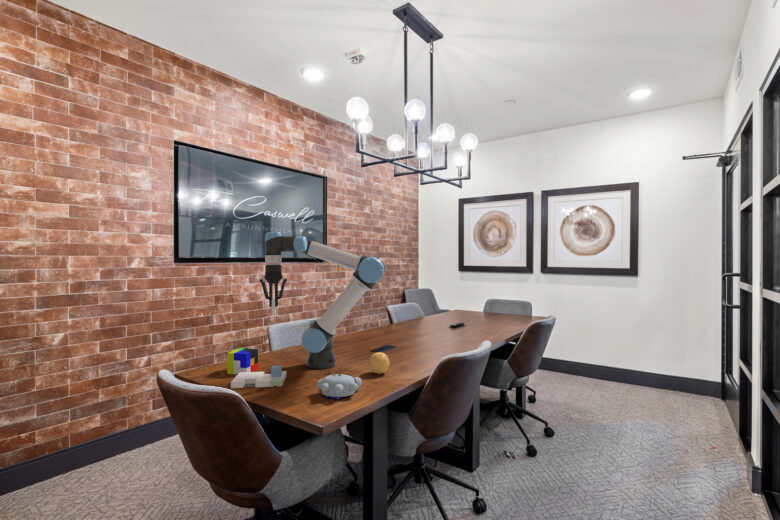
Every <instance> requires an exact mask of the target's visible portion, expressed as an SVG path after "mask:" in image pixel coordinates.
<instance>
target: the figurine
mask: <svg viewBox="0 0 780 520" xmlns="http://www.w3.org/2000/svg"><path fill="white" fill-rule="evenodd" d="M361 386H362V379H361V378H360V377H359V376H358V377H357V376H355V377H353V376H352V375H350V374H345V373H344V374H342V373H339V374H337V373H333V374H330V375H329V374H328V375H326V376H325V377H324V378H321V379H319V380H317V381H316V387H317V388H318V389H320V390H321V394H322V395H323V396H325V399H326V398H328V397H329V399H334V398H335V400H336V399H337V398H338V399H339V400H340V399H342V398H343V397H344V398H345V397H348V396H349V397H350V396H352V395H354V394H355V392H356V391H357V390H358V388H360V387H361Z"/></svg>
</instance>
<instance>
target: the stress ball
mask: <svg viewBox="0 0 780 520" xmlns="http://www.w3.org/2000/svg"><path fill="white" fill-rule="evenodd" d="M390 365H391V362H390V359H389V357H388V355H387V354H385V352H381V351H379V352H378V351H377V352H374V353H372V355H371V356H370V358H369V359H368V366H369V369H370V370H371V371H372V372H373V373H375V374H376V373H378V374H377V375H382V374H383V373H385V372H387V370H388V369H389V368H390ZM381 373H382V374H381Z"/></svg>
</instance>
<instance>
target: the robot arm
mask: <svg viewBox="0 0 780 520" xmlns="http://www.w3.org/2000/svg"><path fill="white" fill-rule="evenodd" d="M282 253H300V254H304V255H306V256H310V257H314V258H317V259H320V260H323V261H326V262H329V263H331V264H333V265H338V266H341V267H343V268H347V269H349V270H352V271H354V272H353V273H352V274H351V277H352V279H351V281H350V282H349V283H348V284H347V285H346V287H345V288H344V289H343V290H342V292H341V293H340V294H339V295H338V296H337V298H335V300H334V301H333V303H332V304H331V305H330V306H329V308H328V309H327V310H326V311H325V312H324V314H323V315H322V316H321V317H318V318H316V319H313V320H310V322H309V327H308V328H307V329H306V330H305V331H304V332H303V333H302V336H301V345H302V347H303V349H305V351H307V352H308V355H307V358H306V360H305V361H306V363H305V365H306V368H309V369H316V370H321V369H329V368H333V367H335V366H337V359H336V356H335V352H334V346H333V345H334V339H333V338H334V336H335V335H336V328H338V326H339V325H340V324H341V322H342V321H343V320H344V319H345V318H346V316H348V314H349V313H350V312H351V311H352V309H353V308H354V307H355V305H356V304H357V303H358V302H359V300H361V298H362V297H363V295H364V294H365V293H366V292H367V291H371V290H372V289H374V287H375V286H376V284H377V283H378V282H379V281H380V280H381V279H382V278H383V277H384V274H385V272H386V266H385V264H384V262H383V261H382V260H381V259H380V258H377V257H375V256H366V255H363V254H360V255H356V254H354V253H350V252H347V251H345V250H341V249H339V248H336V247H333V246H329V245H326V244H323V243H321V242H317V241H314V240H310V239H308V238H307V237H306V236H304V235H302V236H301V235H295V236H294V235H289V236H288V235H285V236H284V235H282V233H281V232H279V231H267V232H266V233H265V236H264V260H265V261H264V263H265V266H264V268H265V269H264V270H265V273H264V276H263V277H262V278H260V279H259V282H260V284H261V285H262V286H261V287H262V290H263V291H262V292H263V294H264V299H266V300H268V303H269V307H271V315H276V314H277V309H276V308H277V307H278V306H279V300H280V299H282V298H283V294H284V290H285V286H286V283H287V282H288V278H286V277H284V275H283V273H282V271H283V270H282V267H283V266H282V259H283V257H282ZM266 282H267V283H268V289H267V284H266ZM280 282H282V283H281V286H280V291H279V283H280ZM273 284H274V291H273ZM268 291H269V292H268ZM273 293H274V295H273ZM273 296H274V299H273Z"/></svg>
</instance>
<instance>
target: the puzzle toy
mask: <svg viewBox="0 0 780 520" xmlns="http://www.w3.org/2000/svg"><path fill="white" fill-rule="evenodd" d="M258 349H259V348H249V347H248V348H245V347H239V348H236V349H234V350H231V351H229V352H227V353H226V354H227V355H226V357H227V358H226V359H227V364H226V365H227V369H226V372H227V373H226V374H227V375H237V374H239V373H240V372H256V371H257V370H258V369H259V350H258Z"/></svg>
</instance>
